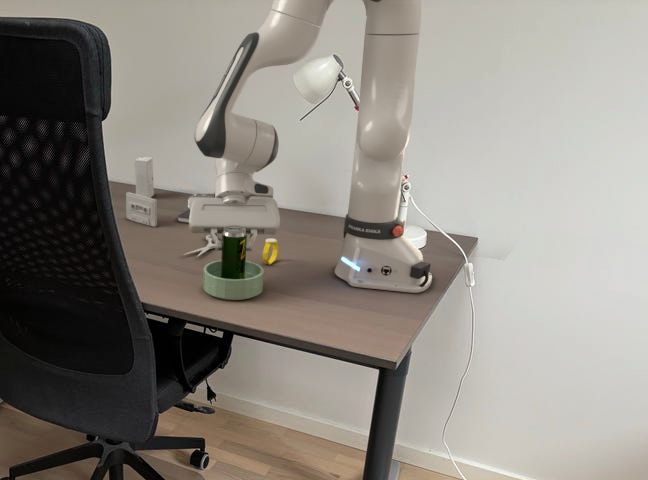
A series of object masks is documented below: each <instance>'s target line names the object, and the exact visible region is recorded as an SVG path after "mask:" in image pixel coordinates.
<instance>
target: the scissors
mask: <svg viewBox="0 0 648 480" xmlns="http://www.w3.org/2000/svg"><path fill="white" fill-rule="evenodd" d="M217 238H218V236H217ZM218 239H219V238H218ZM205 240H206V241H207V245H205V246H204V247H200V248H197V249H194V250H191V251H189V252H186V253H184V254H182V256H185V255H188V254H193V253H196V252H199V251H200V253H198V255H197V256H196V258H198V257H200V256H201V255H202V254H204V253H206V252H207V251H209V250H212V249H216V244H215V243H213V240H212V238H211V234H207V235H205Z"/></svg>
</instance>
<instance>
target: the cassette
mask: <svg viewBox="0 0 648 480" xmlns="http://www.w3.org/2000/svg"><path fill="white" fill-rule="evenodd" d="M141 207H142V208H141ZM125 211H126V212H125V213H126V219H127V220H130V221H133V222H136V223H138V224H143V225H146V226H150V227H154V228H155V227H157V226H158V199H156V198H152V197H151V198H149V197H145V196H141V195H138V194H136V193H134V192H130V191H127V192H125Z"/></svg>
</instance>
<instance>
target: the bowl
mask: <svg viewBox="0 0 648 480" xmlns="http://www.w3.org/2000/svg"><path fill="white" fill-rule="evenodd" d="M264 275H265V269H264V268H263V266H261V265H260V264H259V263H256V262H253V261H249V260H246V263H245V279H224V278H221V259H219V260H214V261H211V262H208V263H206V264H205V265H203V269H202V289H203V291H204V292H205V293H207V294H208V295H209V296H211V297H214V298H216V299H219V300H220V299H221V300H226V301H243V300H248V299H249V300H250V299H252V298H254V297H257V296H258V295H260V294H261V293H263V289H264V278H265V277H264Z"/></svg>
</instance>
